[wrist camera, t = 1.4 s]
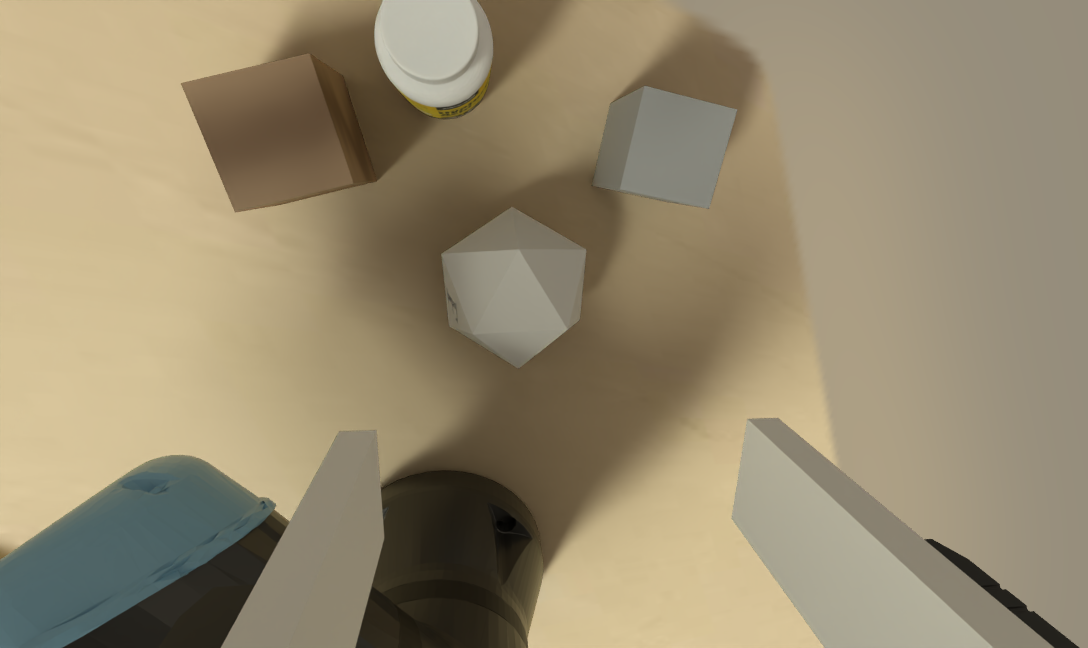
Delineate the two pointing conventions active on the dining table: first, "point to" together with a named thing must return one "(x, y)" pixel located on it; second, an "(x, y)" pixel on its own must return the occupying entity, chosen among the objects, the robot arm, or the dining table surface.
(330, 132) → the walnut block
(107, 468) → the dining table surface
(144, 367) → the dining table surface
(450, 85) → the supplement bottle
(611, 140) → the grey block
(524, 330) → the die
